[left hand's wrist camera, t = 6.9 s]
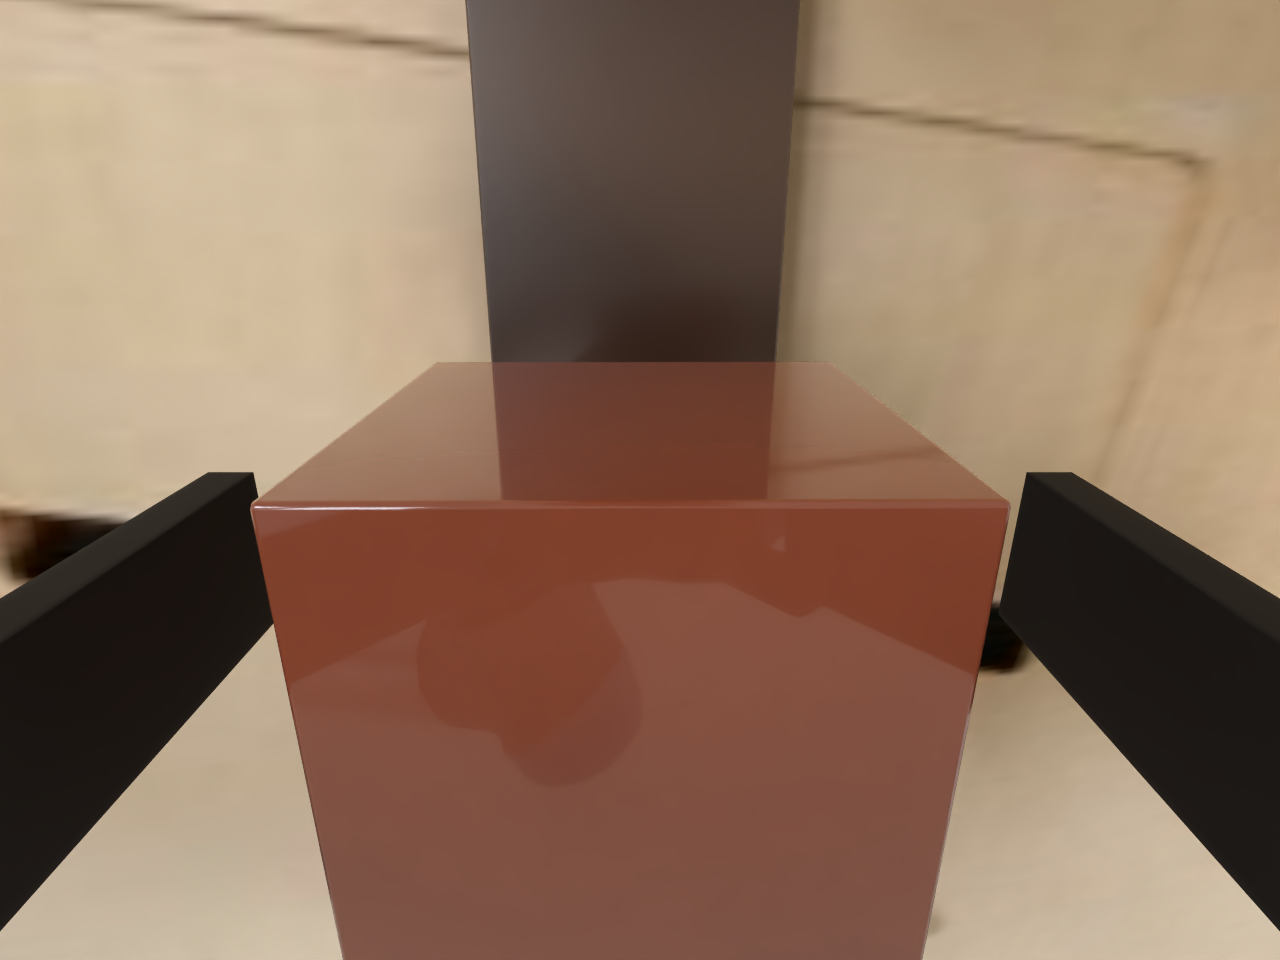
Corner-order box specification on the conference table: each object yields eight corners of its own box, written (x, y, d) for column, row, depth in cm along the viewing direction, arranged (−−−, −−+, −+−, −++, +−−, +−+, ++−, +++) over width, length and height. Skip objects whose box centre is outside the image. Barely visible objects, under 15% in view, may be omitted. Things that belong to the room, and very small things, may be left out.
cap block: (800, 691, 14) (913, 1018, 8) (467, 692, 14) (354, 1022, 8) (831, 360, 12) (1015, 501, 6) (434, 362, 12) (245, 502, 6)
